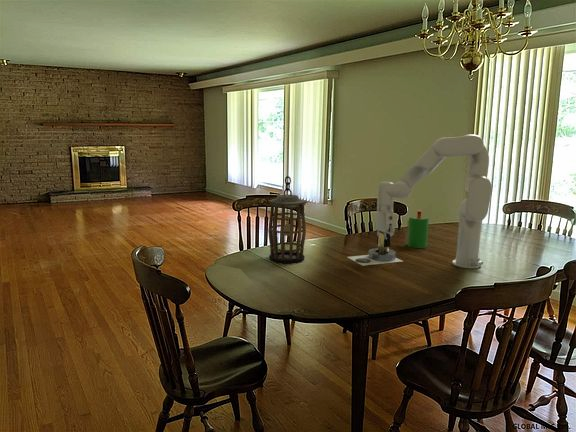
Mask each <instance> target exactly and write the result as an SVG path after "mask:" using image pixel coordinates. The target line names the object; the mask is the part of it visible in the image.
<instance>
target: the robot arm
mask: <svg viewBox="0 0 576 432" xmlns="http://www.w3.org/2000/svg"><path fill="white" fill-rule="evenodd" d="M489 155H490V154H489V152H488V149H487V147H486V146H485V143H484V140H483V138H482V137H481V136H480V135H477V134H471V133H470V134H465V135H462V136H454V137H453V136H452V137H439V138H438V139H436V140H435V141H434V142H433V143H432V144H431V145H430V146H429V147H428V148H427V150H425V152H424V153H423V154H422V155H421V156H420V157H419V158H418V159H417V160H416V161H415V162H414V163H413V164H412V165H411V167H410V168H409V169H407V170H406V172H405V173H404V174H403V175H402V176H401V177H399V179H398V180H397V181H396V182H395V183H394V182H392V181H381V182H378V183H377V194H376V195H377V197H376V198H377V199H376V215H375V227H374V230H375V232H376V236H377V237H376V238H377V239H376V245H378V238H379V232H384V234H385V239H384V247H389V248H390V247H391V240H392V237H393V236H394V234H395V226H396V225H395V213H394V212H395V211H394V202H395V201H394V199H399V200H401V199H402V200H403V199H407V198H409V197H410V196H411V195H412V189H413V188H414V186H416V185H417V184H418V182H419V183H420V181H421V180H423V179H424V178H425V177H429V175H431V174H432V173H433V172H434V170H436V168H438V166H439V165H440V164H441V163H442V162H443V161H444V160H445V159H446V158H454V157H455V158H456V157H466V156H467V160H468V162H467V163H468V164H467V170H466V171H467V172H466V177H465V181H464V189H465V191H466V192H467V197H466V198H465V199H463V200H462V201H461V203H460V204H459V208H458V231H457V244H456V253H455V255H456V256H455V259H453V260H452V263H451V264H452V265H453V266H455V267H458V268H463V269H480V268H481V267H482V265H484V262H483V261H481V259H480V257H479V251H480V243H481V241H480V240H481V233H482V221H483V220H485V219H486V217H487V215H488V212H489V207H490V203H491V197H492V192H493V191H492V189H493V188H492V182H491V180H490V179H489V178H488V174H489V165H490V156H489ZM387 234H388V235H387ZM479 267H480V268H479Z"/></svg>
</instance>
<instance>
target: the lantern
mask: <svg viewBox="0 0 576 432" xmlns="http://www.w3.org/2000/svg"><path fill="white" fill-rule="evenodd" d="M287 179H288V180H289V181H287ZM284 183H285V188H284V191H283V194H278V195H277V196H276V198H272V199H270V200H269V201H268V202H266V203H267V204H268V205H270V213H269V214H270V216H269V221H268V230H267V232H268V240H269V246H270V247H269V251H270V255H269V260H270V262H272V261H273V262H272V263H275V262H276V263H275V264H279V263H282V264H281V265H293V264H292V263H296V264H300V263H303V262H302V261H304V260H305V255H304V250H305V241H306V235H307V231H306V230H307V224H306V219H305V218H306V216H305V206H306V204H307V203H308V201H306V200H304V199H302V198H301V199H300V198H299V195H295V194H292V193H293V192H292V190H291V183H292V179H291V177H290V176H289V175H287V176H285V178H284ZM286 192H289V194H286ZM279 208H281V212H279ZM294 208H296V212H294ZM279 216H281V217H279ZM294 216H296V217H294ZM278 221H280V224H278ZM295 221H297V225H296V224H295V223H294V222H295ZM278 228H280V230H278ZM294 228H297V230H295V229H294ZM278 234H280V242H278V241H279V240H278V238H279V237H278ZM294 234H297V235H296V236H297V237H296V238H297V239H296V242H294ZM287 236H288V237H289V242H286V237H287ZM286 245H289V249H286ZM279 246H280V248H279ZM294 246H295V247H296V249H294Z"/></svg>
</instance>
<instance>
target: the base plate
mask: <svg viewBox="0 0 576 432" xmlns="http://www.w3.org/2000/svg"><path fill="white" fill-rule="evenodd" d="M347 258H348V259H349V260H351V261H353V262H355V263H356V264H359V265H360V266H364V267H365V266H370V265H371V266H372V265H381V264H383V265H384V264H390V263H401V262H403V260H401V259H399V258H397V257H395V260H393V261H376V260H372V259H370V258H369V257H368V254H366V255H365V254H364V255H354V256H347Z"/></svg>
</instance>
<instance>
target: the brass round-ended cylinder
mask: <svg viewBox="0 0 576 432" xmlns="http://www.w3.org/2000/svg"><path fill="white" fill-rule="evenodd" d="M387 235H388V234H387ZM384 239H385V234H384V232H379V238H378V244H377V248H378V252H379V253H384V254H385V253H389V249H390V247H384Z"/></svg>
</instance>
